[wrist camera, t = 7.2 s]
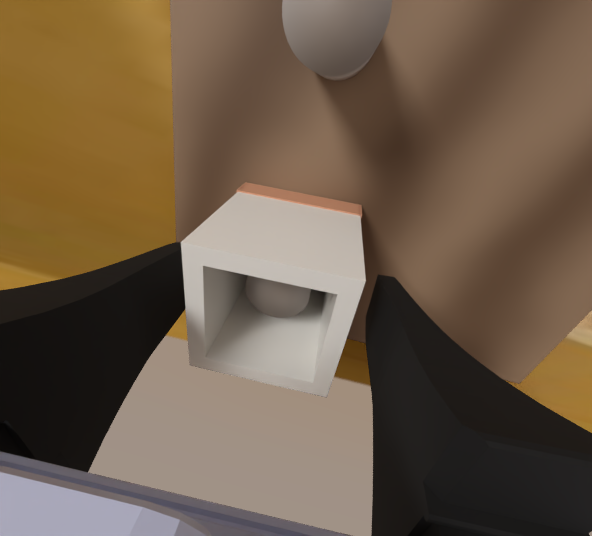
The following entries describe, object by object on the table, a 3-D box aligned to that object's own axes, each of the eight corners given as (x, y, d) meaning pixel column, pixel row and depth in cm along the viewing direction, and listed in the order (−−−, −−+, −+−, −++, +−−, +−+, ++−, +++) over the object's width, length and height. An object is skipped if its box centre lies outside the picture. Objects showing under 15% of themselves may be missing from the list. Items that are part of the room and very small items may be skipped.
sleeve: (361, 204, 13) (368, 279, 7) (335, 297, 15) (328, 398, 10) (246, 181, 13) (178, 239, 8) (241, 276, 16) (188, 365, 10)
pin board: (818, 26, 9) (1283, -39, 4) (509, 366, 17) (563, 459, 13) (186, -114, 9) (42, -294, 5) (187, 282, 18) (134, 344, 14)
